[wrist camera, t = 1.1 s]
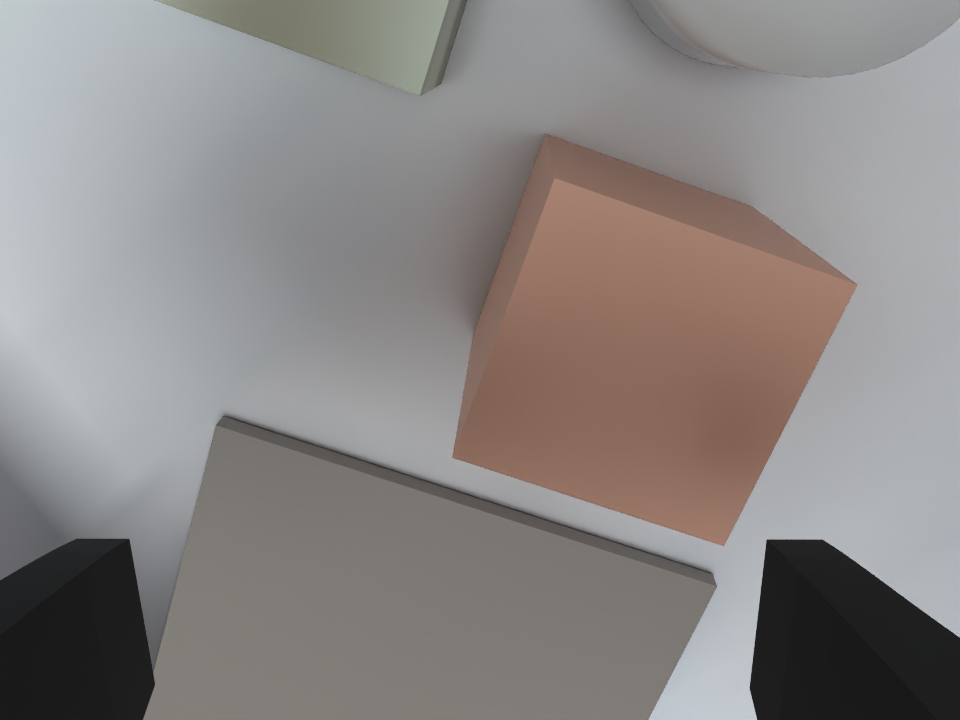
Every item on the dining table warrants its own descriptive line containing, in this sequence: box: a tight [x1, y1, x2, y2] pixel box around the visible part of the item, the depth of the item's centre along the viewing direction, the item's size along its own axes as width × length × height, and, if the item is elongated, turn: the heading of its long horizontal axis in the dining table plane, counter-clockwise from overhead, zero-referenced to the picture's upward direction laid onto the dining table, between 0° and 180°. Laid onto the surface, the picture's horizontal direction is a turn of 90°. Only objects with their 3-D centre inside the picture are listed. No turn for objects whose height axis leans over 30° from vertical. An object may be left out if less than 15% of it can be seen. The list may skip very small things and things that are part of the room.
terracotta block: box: [452, 134, 857, 546], centre depth 16 cm, size 4×4×6 cm
